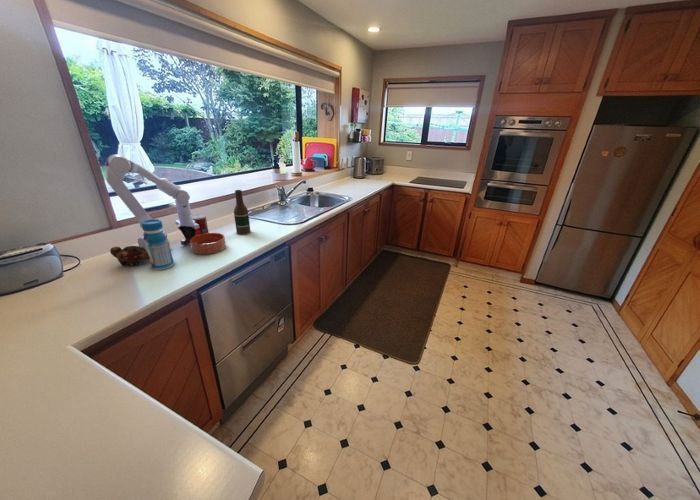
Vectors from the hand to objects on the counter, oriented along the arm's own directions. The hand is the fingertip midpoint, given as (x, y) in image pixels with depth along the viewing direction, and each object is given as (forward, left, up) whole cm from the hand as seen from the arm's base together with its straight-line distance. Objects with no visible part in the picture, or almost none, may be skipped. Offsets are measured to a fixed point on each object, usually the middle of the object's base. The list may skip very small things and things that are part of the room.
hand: (190, 239), depth 142 cm
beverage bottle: (-22, -11, -2) cm, 25 cm away
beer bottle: (+25, -11, -2) cm, 27 cm away
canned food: (+10, +5, -2) cm, 11 cm away
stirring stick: (0, 0, -1) cm, 1 cm away
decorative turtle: (-26, +2, -2) cm, 26 cm away
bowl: (0, -13, -2) cm, 13 cm away
